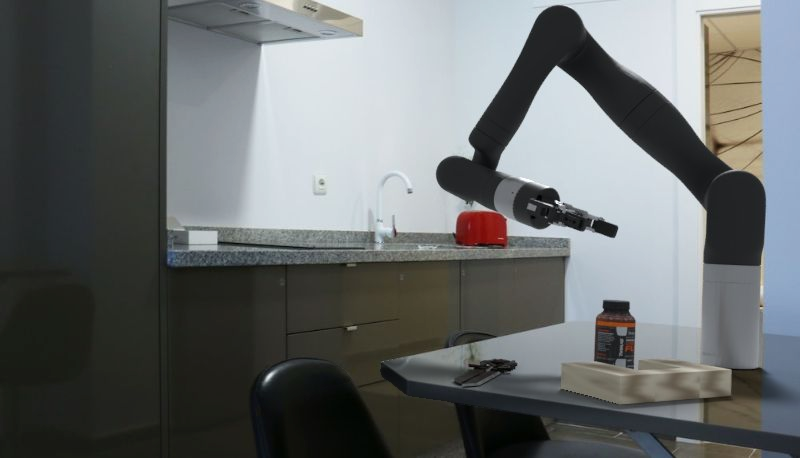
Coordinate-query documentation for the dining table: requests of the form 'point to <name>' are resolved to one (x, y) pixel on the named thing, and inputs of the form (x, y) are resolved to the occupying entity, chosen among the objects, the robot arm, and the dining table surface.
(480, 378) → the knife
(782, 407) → the dining table surface
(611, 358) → the supplement bottle
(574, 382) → the slot dock
